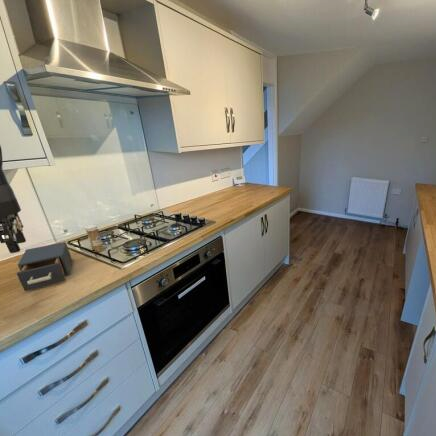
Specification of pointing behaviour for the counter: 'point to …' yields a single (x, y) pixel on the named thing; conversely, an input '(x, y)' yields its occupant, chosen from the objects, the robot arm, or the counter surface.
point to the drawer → (42, 274)
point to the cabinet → (48, 255)
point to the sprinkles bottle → (94, 238)
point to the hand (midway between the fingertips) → (18, 247)
